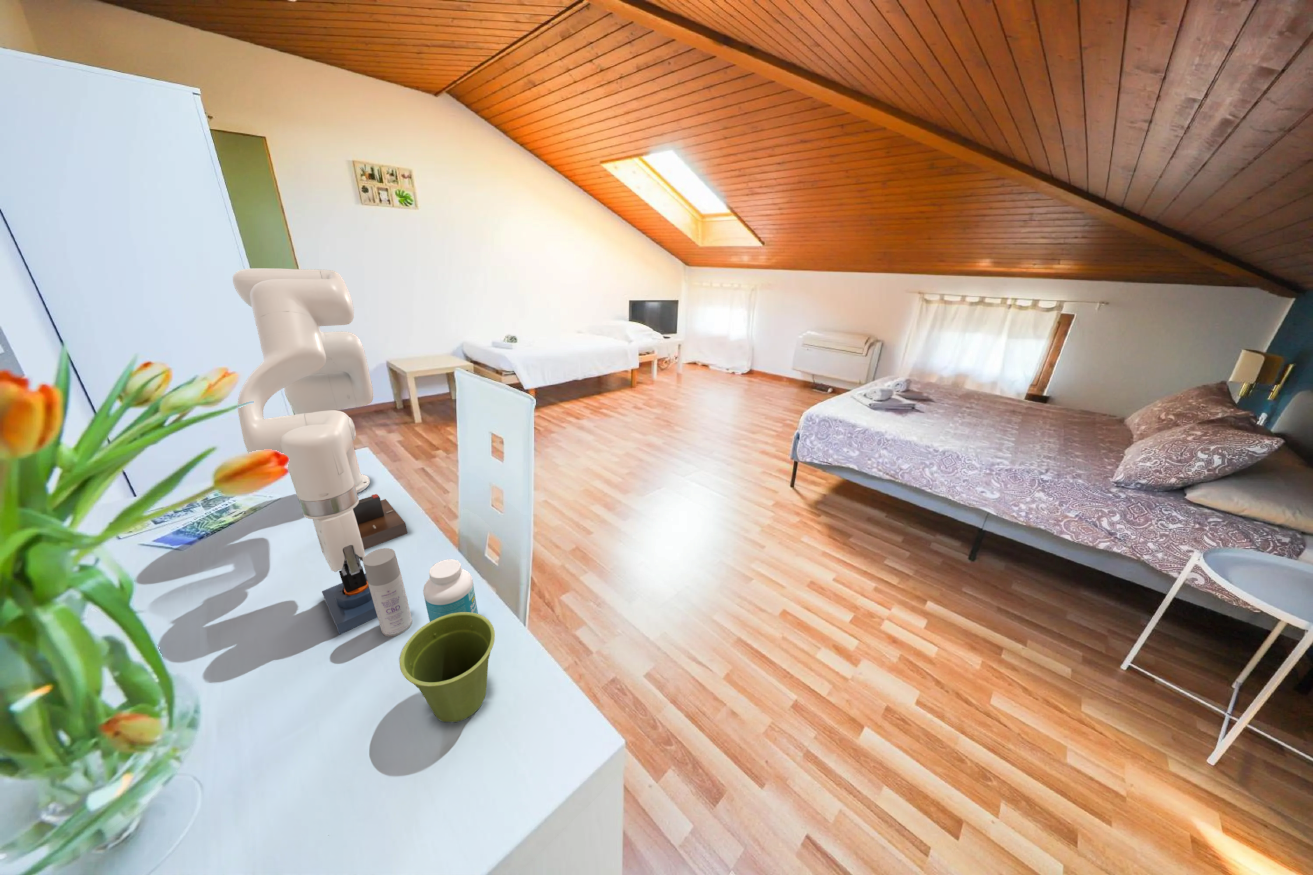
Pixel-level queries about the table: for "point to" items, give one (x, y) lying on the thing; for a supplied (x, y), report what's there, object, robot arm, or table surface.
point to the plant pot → (450, 663)
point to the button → (357, 590)
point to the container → (387, 591)
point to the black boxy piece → (368, 509)
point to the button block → (349, 607)
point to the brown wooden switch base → (382, 527)
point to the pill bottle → (449, 590)
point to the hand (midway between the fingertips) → (355, 586)
